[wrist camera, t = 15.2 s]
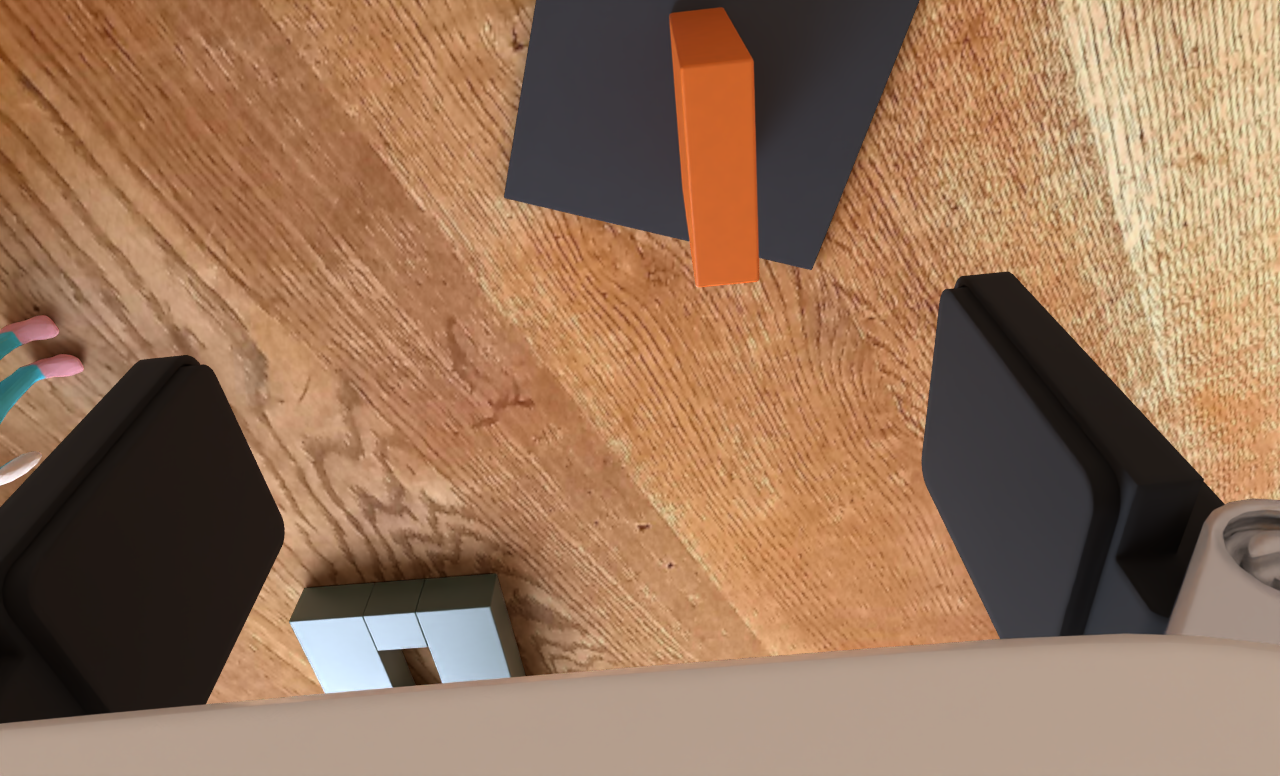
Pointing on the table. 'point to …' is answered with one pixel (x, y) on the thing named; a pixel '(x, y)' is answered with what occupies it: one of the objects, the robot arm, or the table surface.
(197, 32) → the table surface
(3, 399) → the toy
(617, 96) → the mat
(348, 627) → the holder
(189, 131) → the table surface
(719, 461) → the table surface
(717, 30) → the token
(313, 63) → the table surface
